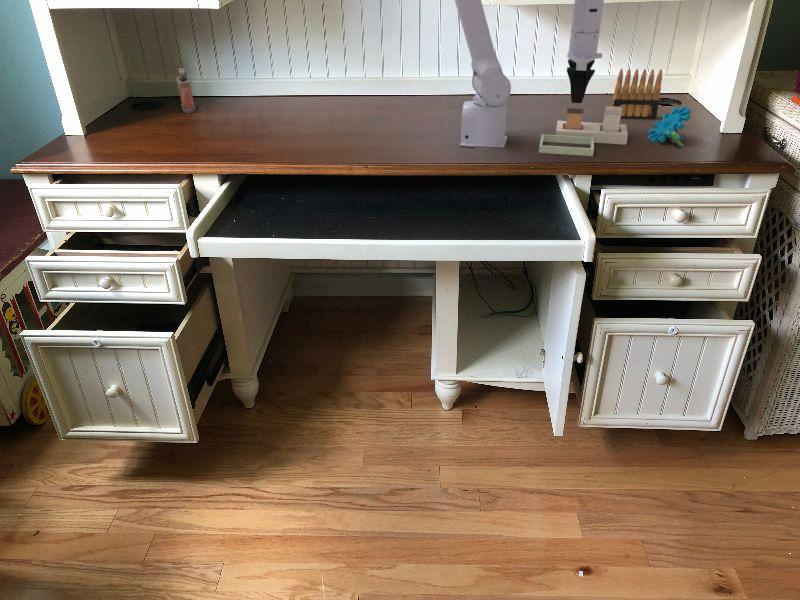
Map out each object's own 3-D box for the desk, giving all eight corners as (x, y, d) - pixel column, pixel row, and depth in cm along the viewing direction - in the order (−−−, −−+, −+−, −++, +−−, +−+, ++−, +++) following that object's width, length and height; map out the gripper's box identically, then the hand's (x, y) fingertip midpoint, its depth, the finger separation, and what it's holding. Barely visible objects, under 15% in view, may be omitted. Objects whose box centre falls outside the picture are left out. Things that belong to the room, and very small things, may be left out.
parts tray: (538, 155, 134) (539, 145, 133) (540, 143, 141) (541, 134, 140) (592, 158, 132) (594, 149, 131) (592, 146, 139) (593, 137, 138)
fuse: (601, 139, 141) (605, 110, 137) (600, 134, 143) (605, 106, 140) (617, 140, 140) (622, 111, 137) (616, 135, 143) (621, 106, 139)
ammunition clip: (609, 120, 155) (618, 69, 148) (608, 118, 156) (616, 67, 150) (655, 121, 153) (666, 69, 147) (654, 119, 155) (664, 68, 149)
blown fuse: (563, 137, 142) (567, 108, 139) (564, 132, 145) (567, 104, 142) (579, 138, 142) (583, 109, 138) (579, 133, 144) (583, 105, 141)
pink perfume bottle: (181, 105, 172) (174, 66, 167) (194, 103, 173) (187, 65, 168) (182, 112, 166) (174, 73, 161) (195, 111, 167) (188, 71, 161)
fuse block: (554, 142, 141) (556, 131, 140) (556, 131, 148) (557, 120, 146) (625, 147, 138) (627, 135, 137) (624, 135, 145) (626, 124, 143)
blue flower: (643, 126, 145) (683, 97, 139) (658, 144, 147) (699, 116, 141) (648, 148, 137) (691, 118, 131) (664, 167, 139) (708, 138, 133)
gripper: (606, 37, 125) (596, 107, 132) (604, 25, 137) (595, 90, 144) (569, 36, 127) (561, 106, 134) (570, 25, 138) (563, 89, 146)
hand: (576, 98), depth 139 cm, fingers open, 7 cm apart
